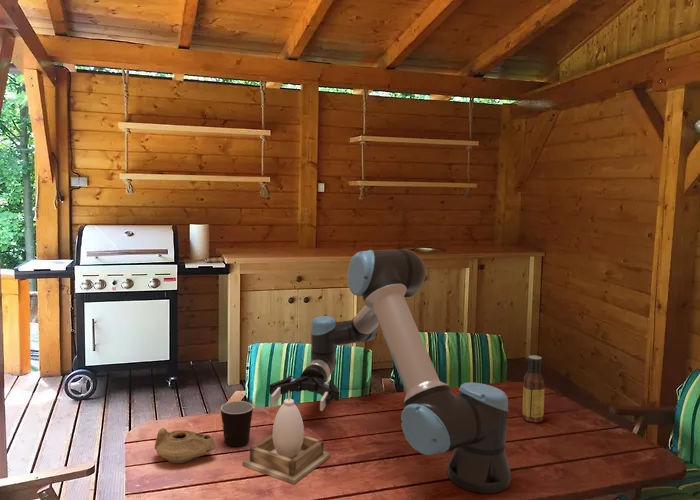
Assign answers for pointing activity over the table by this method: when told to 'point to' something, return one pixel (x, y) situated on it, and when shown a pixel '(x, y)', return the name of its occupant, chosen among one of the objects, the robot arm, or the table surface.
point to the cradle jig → (286, 459)
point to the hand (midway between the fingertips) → (296, 403)
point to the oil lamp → (182, 445)
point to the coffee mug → (236, 423)
